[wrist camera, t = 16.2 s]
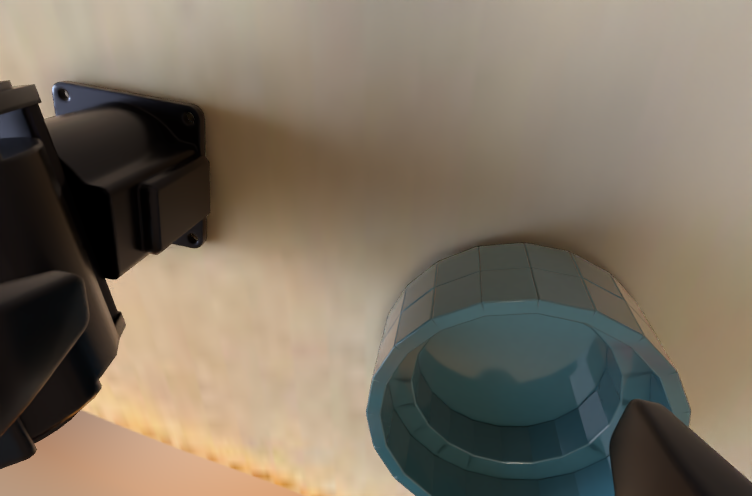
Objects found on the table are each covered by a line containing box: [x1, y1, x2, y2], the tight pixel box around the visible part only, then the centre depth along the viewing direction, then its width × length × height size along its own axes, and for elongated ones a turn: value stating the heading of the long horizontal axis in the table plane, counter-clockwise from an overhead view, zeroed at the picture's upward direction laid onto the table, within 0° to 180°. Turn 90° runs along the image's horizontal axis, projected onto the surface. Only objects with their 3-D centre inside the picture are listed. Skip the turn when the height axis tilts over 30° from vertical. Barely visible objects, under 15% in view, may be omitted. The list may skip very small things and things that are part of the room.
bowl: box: [366, 243, 691, 496], centre depth 21 cm, size 12×12×5 cm
